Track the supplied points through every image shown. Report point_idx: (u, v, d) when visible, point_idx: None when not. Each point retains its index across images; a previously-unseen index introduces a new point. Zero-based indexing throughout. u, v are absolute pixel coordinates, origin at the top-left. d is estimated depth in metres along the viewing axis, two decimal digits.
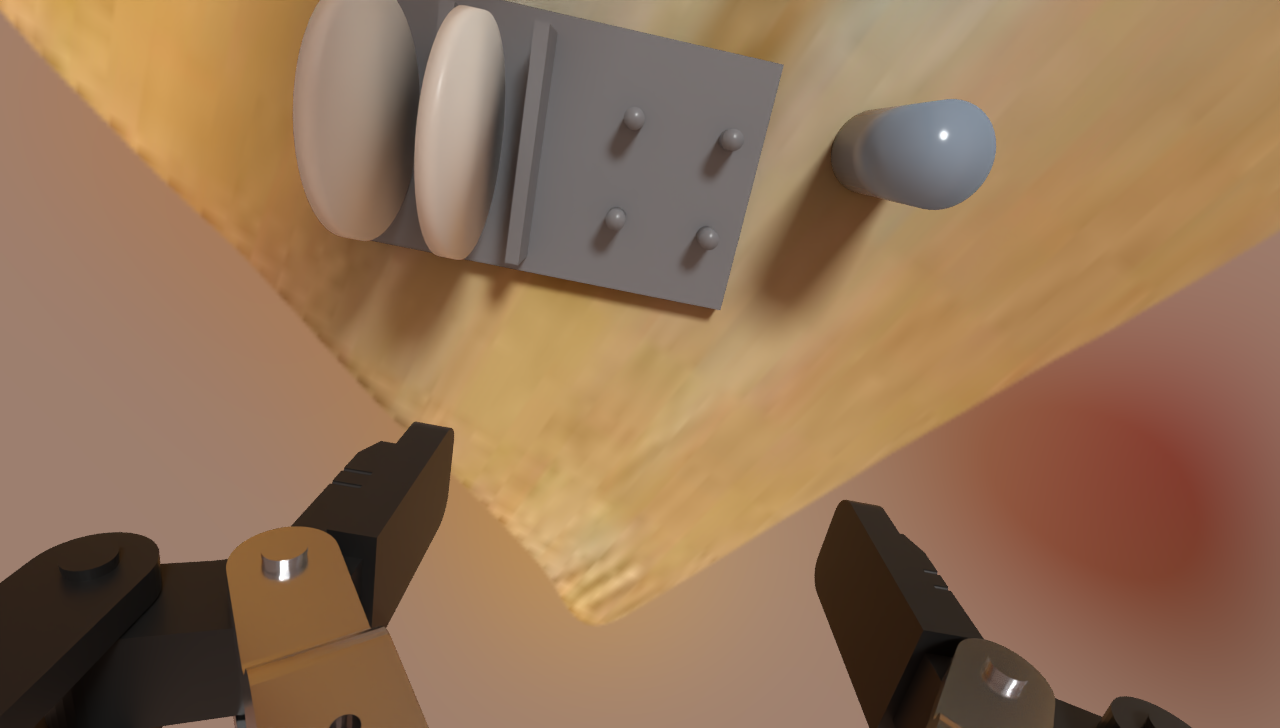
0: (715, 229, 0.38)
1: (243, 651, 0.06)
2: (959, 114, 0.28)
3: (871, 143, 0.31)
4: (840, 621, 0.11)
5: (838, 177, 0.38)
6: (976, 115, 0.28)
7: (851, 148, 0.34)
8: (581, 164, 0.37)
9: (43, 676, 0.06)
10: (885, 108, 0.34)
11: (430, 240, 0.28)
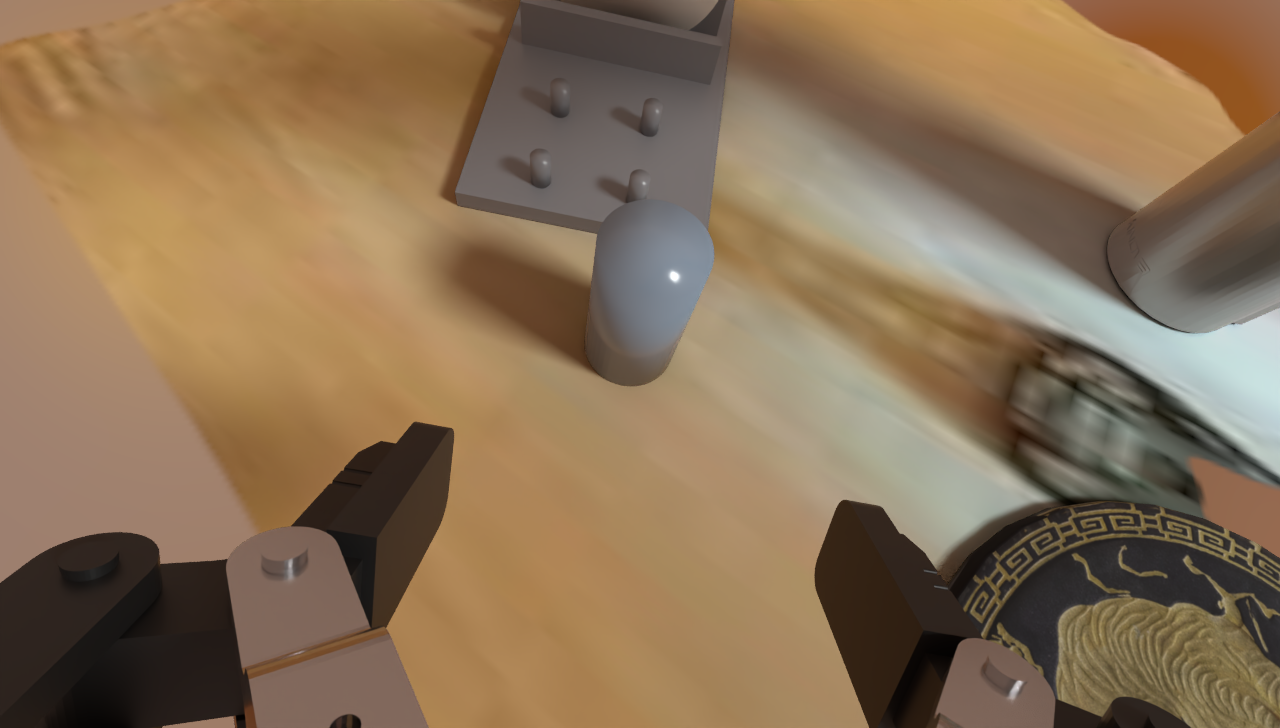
0: (547, 188, 0.36)
1: (243, 651, 0.06)
2: (699, 258, 0.25)
3: None
4: (840, 621, 0.11)
5: None
6: (700, 274, 0.25)
7: None
8: (607, 89, 0.40)
9: (43, 676, 0.06)
10: None
11: None
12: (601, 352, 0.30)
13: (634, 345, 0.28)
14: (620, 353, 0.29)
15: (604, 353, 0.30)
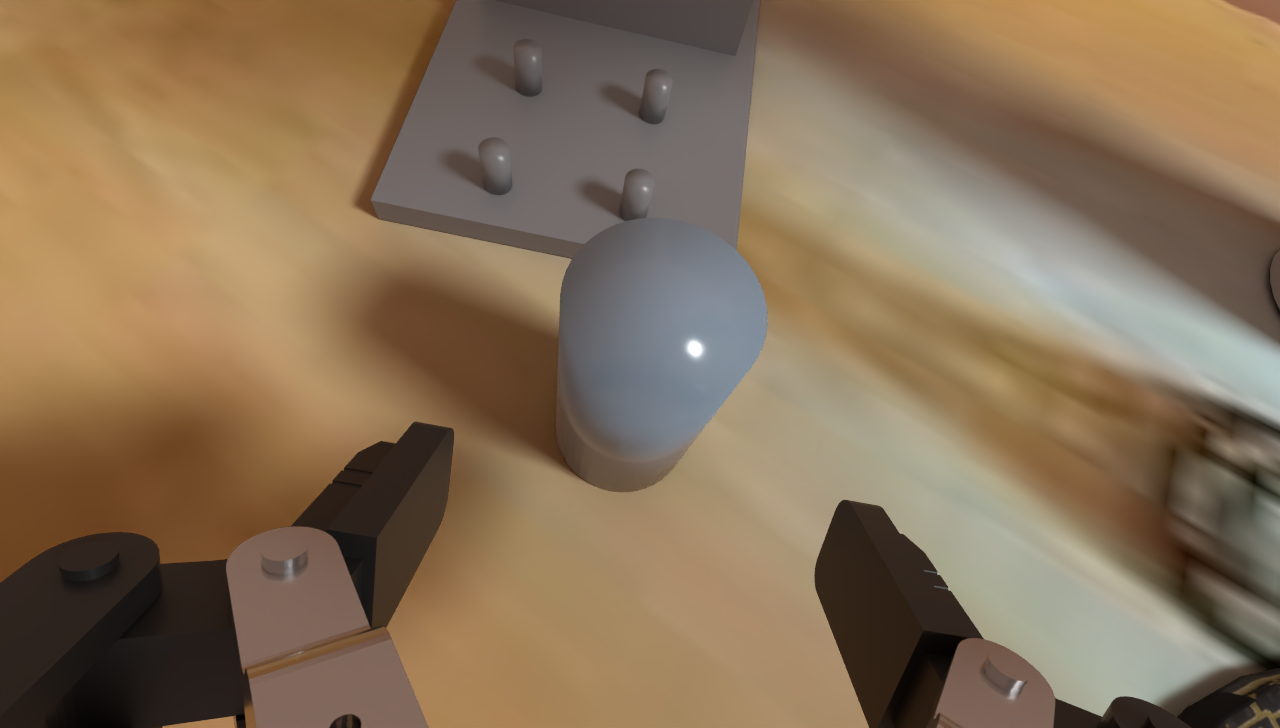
0: (506, 195, 0.25)
1: (244, 652, 0.06)
2: (743, 321, 0.14)
3: None
4: (840, 621, 0.11)
5: None
6: (745, 352, 0.14)
7: None
8: (595, 60, 0.29)
9: (43, 676, 0.06)
10: None
11: None
12: (578, 452, 0.19)
13: (628, 453, 0.17)
14: (605, 459, 0.18)
15: (581, 454, 0.19)
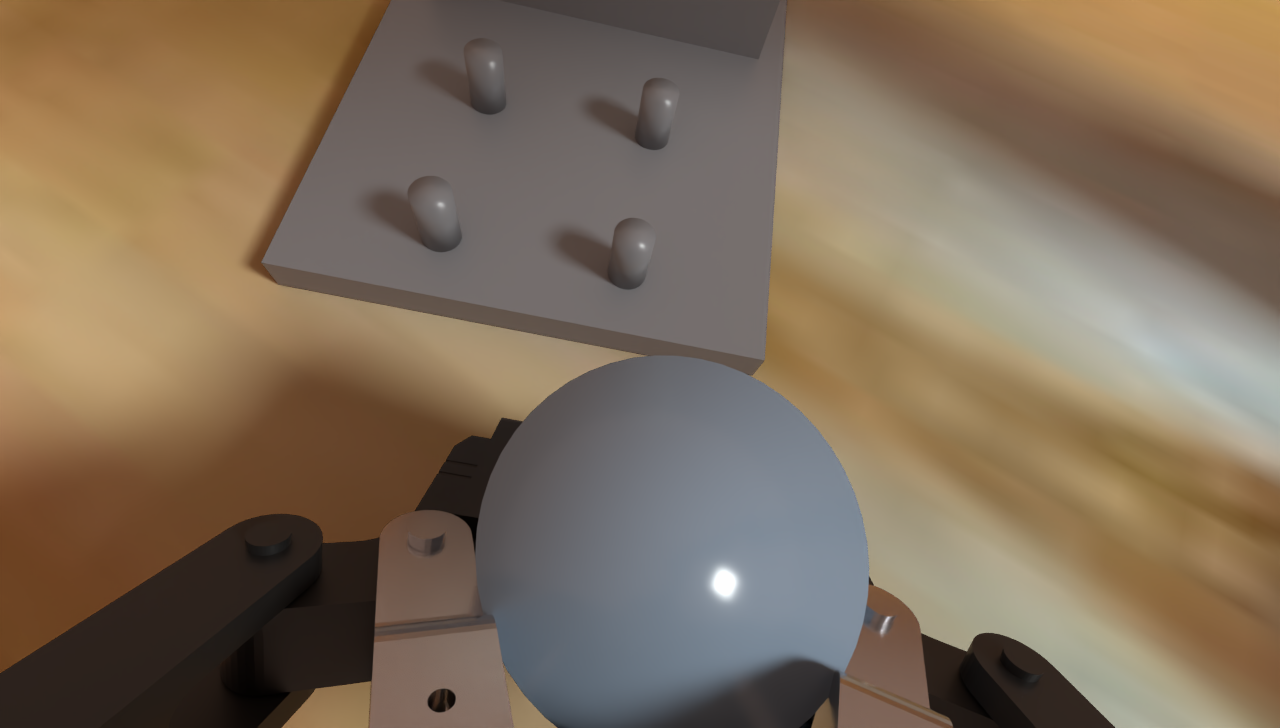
0: (452, 252, 0.18)
1: (379, 611, 0.07)
2: (825, 567, 0.08)
3: None
4: None
5: None
6: (832, 637, 0.07)
7: None
8: (578, 65, 0.22)
9: (212, 637, 0.06)
10: None
11: None
12: None
13: None
14: None
15: None
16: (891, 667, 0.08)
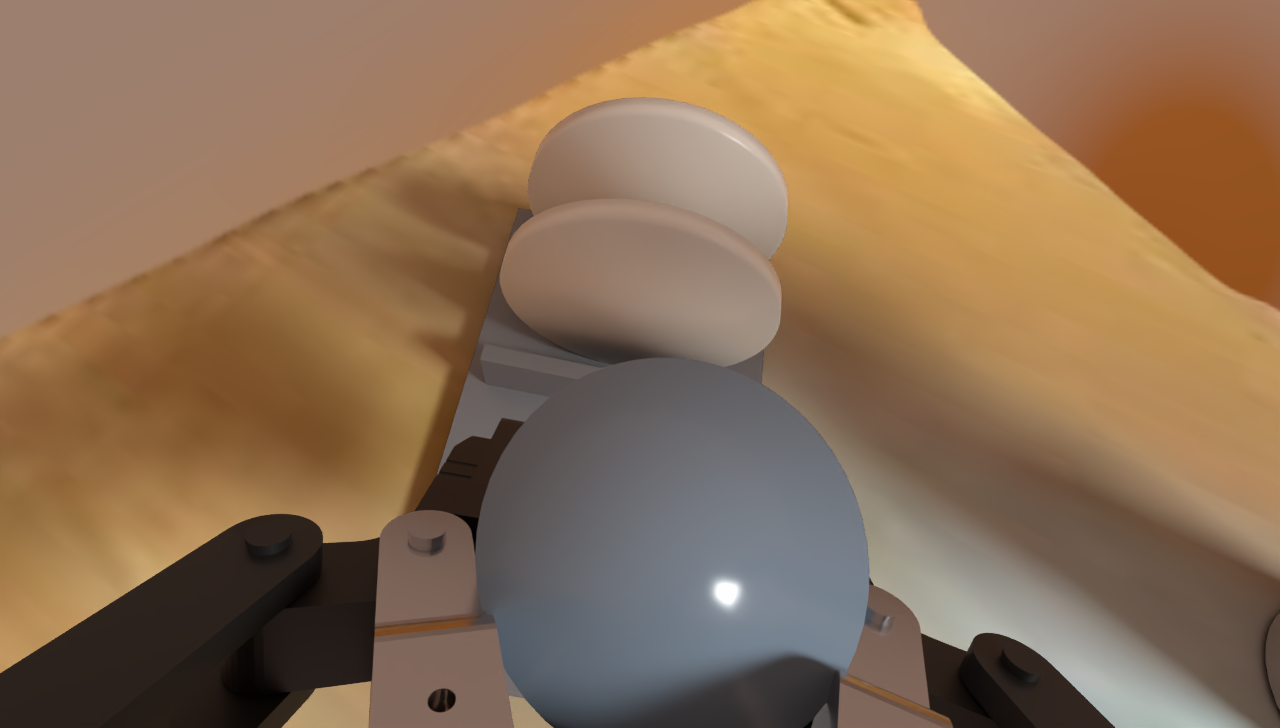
0: None
1: (378, 612, 0.07)
2: (825, 569, 0.08)
3: None
4: None
5: None
6: (832, 640, 0.07)
7: None
8: None
9: (212, 638, 0.06)
10: None
11: (536, 220, 0.22)
12: None
13: None
14: None
15: None
16: (891, 668, 0.08)
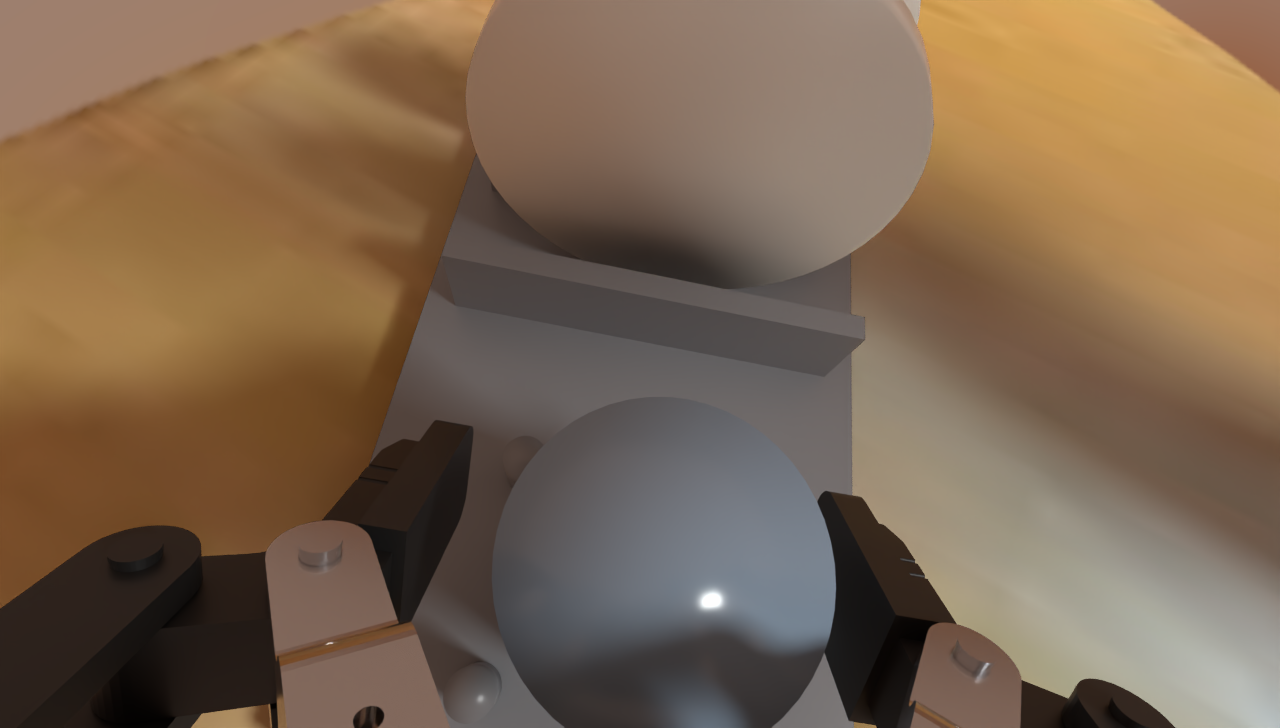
0: (491, 711, 0.16)
1: (278, 638, 0.06)
2: (797, 586, 0.09)
3: None
4: None
5: None
6: (802, 648, 0.08)
7: None
8: None
9: (87, 663, 0.06)
10: None
11: None
12: None
13: None
14: None
15: None
16: (980, 714, 0.07)
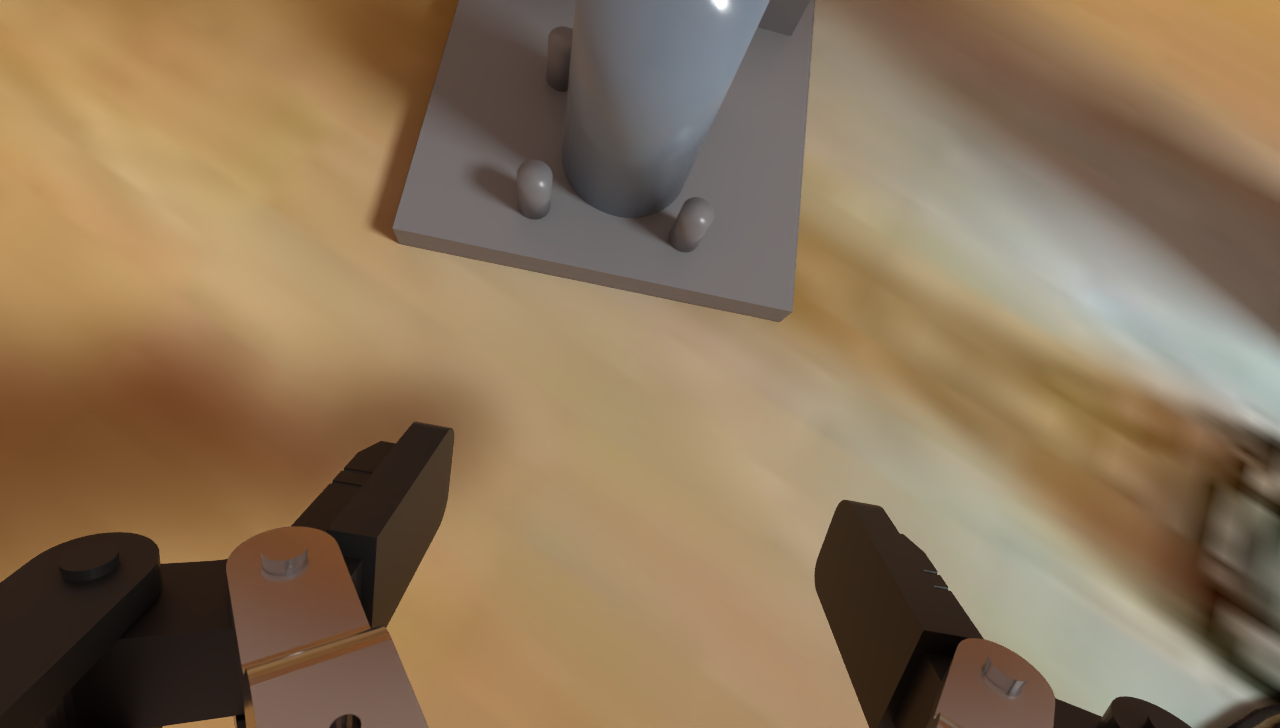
0: (544, 219, 0.22)
1: (244, 651, 0.06)
2: None
3: None
4: (840, 621, 0.11)
5: None
6: None
7: None
8: None
9: (43, 676, 0.06)
10: None
11: None
12: (588, 155, 0.20)
13: (641, 132, 0.18)
14: (616, 151, 0.19)
15: (591, 156, 0.20)
16: None
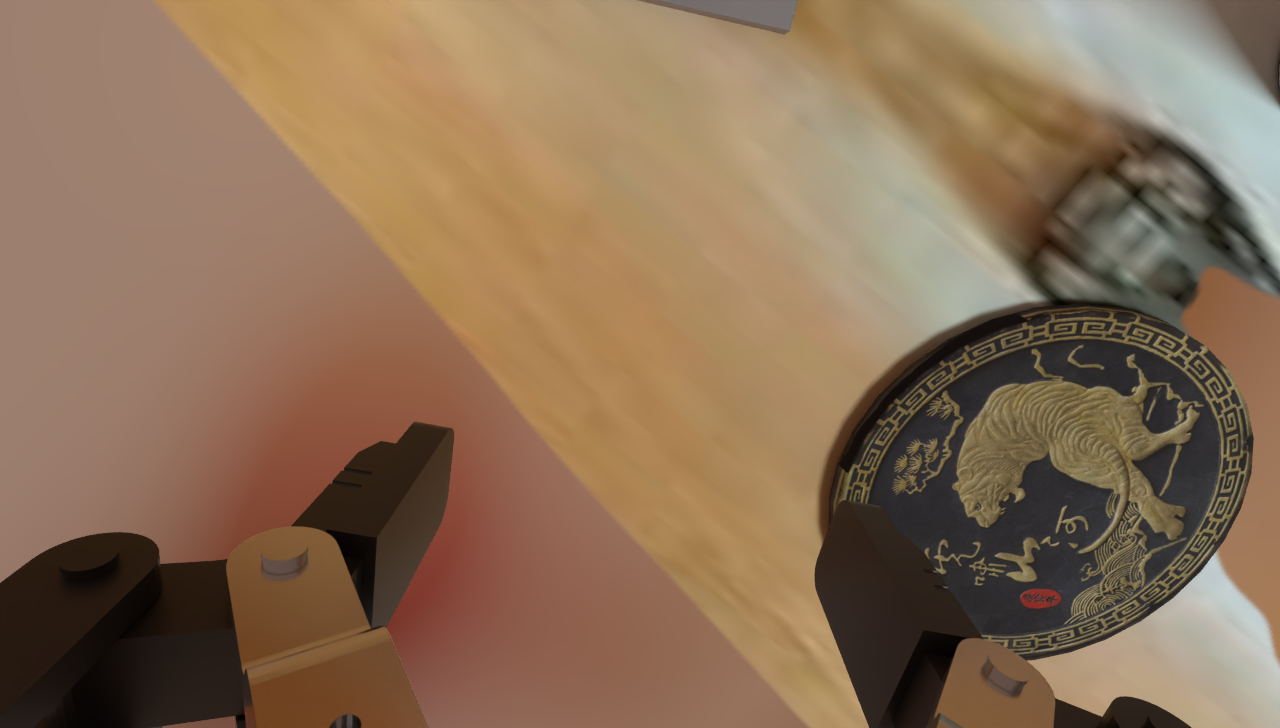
0: None
1: (244, 651, 0.06)
2: None
3: None
4: (840, 621, 0.11)
5: None
6: None
7: None
8: None
9: (43, 676, 0.06)
10: None
11: None
12: None
13: None
14: None
15: None
16: None
